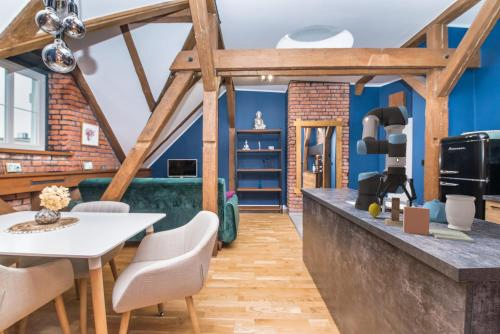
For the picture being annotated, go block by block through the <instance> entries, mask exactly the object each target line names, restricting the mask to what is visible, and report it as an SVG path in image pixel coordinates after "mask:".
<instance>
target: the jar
mask: <svg viewBox="0 0 500 334" xmlns="http://www.w3.org/2000/svg"><path fill="white" fill-rule="evenodd" d="M445 198H446V202H445V204H446V205H445V212H446V218H447V221H448V223H447V229H449V230H459V231H461V232H470V231H472V227H471V226H472V224H473V223H474V220H475V219H474V218H475V214H476V206H475V205H476V204H475V201H476V197H475V196H470V195H464V194H446V195H445Z"/></svg>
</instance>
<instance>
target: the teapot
mask: <svg viewBox="0 0 500 334" xmlns="http://www.w3.org/2000/svg"><path fill="white" fill-rule="evenodd" d="M445 205H446V202H441V201H440V199H434V198H433V199H432V200H430V201H426V202H425V203H424V204H423V205H422V207H421V208H429V209H430V218H429V222H432V223H439V222H440V224H446V223H447V224H449V223H448V221H447V218H446V212H445ZM412 206H413V207H420V206H419V204H418V203H417V202H412Z"/></svg>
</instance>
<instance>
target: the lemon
mask: <svg viewBox="0 0 500 334" xmlns="http://www.w3.org/2000/svg"><path fill="white" fill-rule="evenodd" d="M368 213H369V215H370V216H371V217H373V218H376V217H378V216H380V214H381V210H380V207H379V205H378V204H376V203H374V204H371V205H370V207H369V211H368Z"/></svg>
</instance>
